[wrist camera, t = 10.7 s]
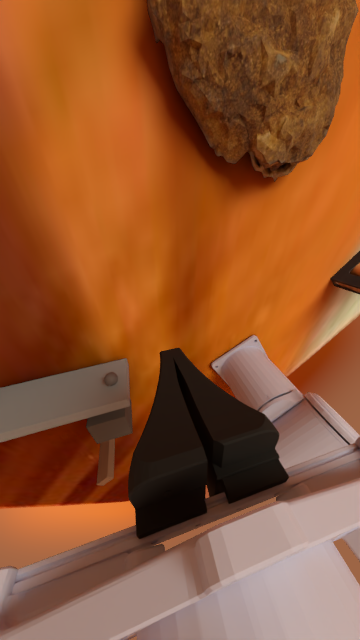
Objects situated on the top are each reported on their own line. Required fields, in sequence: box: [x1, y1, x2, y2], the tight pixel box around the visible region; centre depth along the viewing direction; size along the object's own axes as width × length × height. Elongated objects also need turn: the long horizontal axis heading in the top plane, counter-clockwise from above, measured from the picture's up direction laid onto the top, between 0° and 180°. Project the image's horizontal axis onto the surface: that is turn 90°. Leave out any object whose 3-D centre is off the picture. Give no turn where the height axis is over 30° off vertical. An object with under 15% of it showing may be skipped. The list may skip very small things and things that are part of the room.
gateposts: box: [97, 439, 115, 486], centre depth 21 cm, size 23×2×7 cm, turn 39°
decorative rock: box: [147, 0, 358, 182], centre depth 12 cm, size 11×4×15 cm
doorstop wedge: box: [86, 400, 132, 444], centre depth 24 cm, size 8×4×5 cm, turn 5°
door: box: [0, 358, 130, 442], centre depth 20 cm, size 14×3×6 cm, turn 95°
